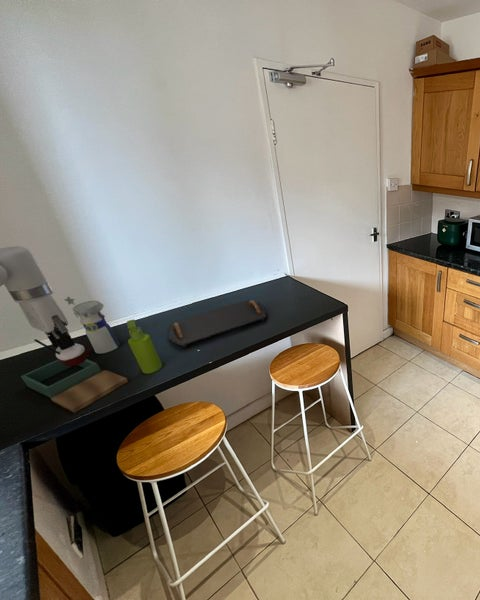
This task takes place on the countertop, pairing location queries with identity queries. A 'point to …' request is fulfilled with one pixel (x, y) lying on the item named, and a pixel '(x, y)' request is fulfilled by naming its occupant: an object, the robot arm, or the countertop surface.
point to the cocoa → (70, 354)
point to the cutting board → (89, 390)
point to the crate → (62, 385)
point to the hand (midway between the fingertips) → (64, 345)
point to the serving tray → (215, 322)
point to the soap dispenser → (143, 349)
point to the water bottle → (95, 326)
